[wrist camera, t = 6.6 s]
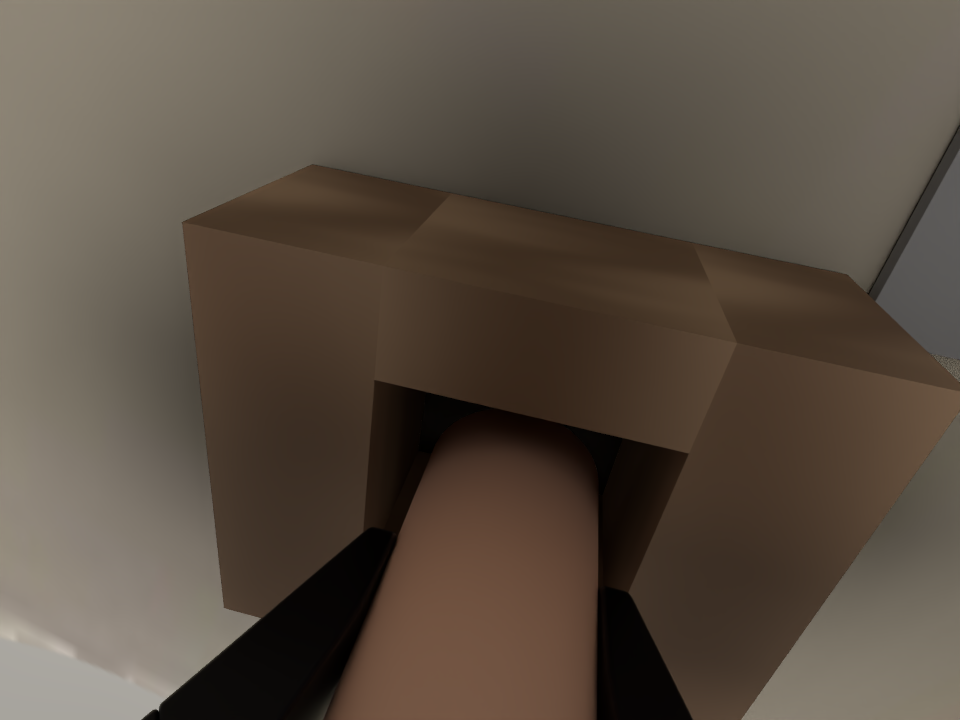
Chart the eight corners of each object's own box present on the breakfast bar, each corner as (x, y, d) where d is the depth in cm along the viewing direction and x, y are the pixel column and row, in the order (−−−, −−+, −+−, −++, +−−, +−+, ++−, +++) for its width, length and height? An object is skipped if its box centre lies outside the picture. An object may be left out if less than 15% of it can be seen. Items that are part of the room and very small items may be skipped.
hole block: (846, 274, 10) (971, 394, 7) (694, 574, 14) (724, 743, 11) (312, 164, 11) (181, 222, 8) (309, 477, 15) (224, 607, 12)
